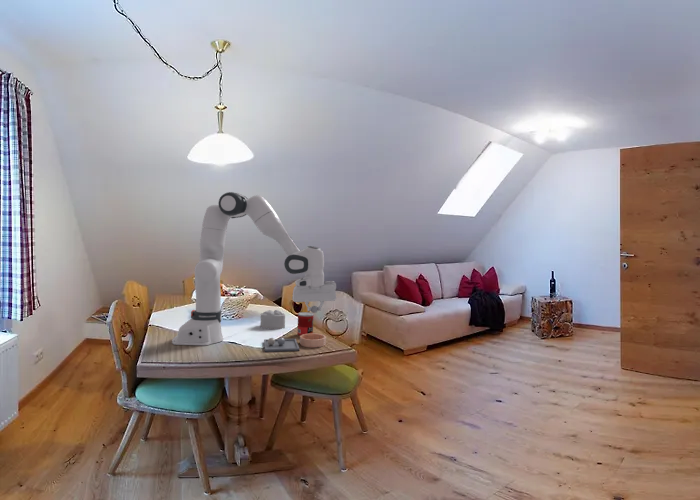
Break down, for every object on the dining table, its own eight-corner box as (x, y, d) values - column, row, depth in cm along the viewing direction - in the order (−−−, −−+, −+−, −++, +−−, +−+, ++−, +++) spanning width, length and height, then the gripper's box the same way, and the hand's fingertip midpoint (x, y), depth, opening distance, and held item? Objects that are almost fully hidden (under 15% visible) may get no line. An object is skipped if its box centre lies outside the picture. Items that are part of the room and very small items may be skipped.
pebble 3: (310, 312, 194) (310, 305, 194) (317, 312, 195) (317, 304, 195) (311, 313, 191) (311, 306, 191) (318, 313, 192) (318, 306, 192)
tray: (264, 351, 181) (265, 349, 181) (263, 342, 197) (264, 339, 196) (299, 350, 184) (299, 348, 184) (295, 341, 200) (295, 338, 200)
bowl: (301, 347, 189) (301, 340, 189) (298, 340, 201) (298, 333, 201) (327, 347, 192) (327, 339, 192) (323, 340, 204) (323, 333, 203)
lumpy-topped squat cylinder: (267, 323, 234) (268, 308, 234) (288, 326, 231) (288, 310, 230) (258, 327, 225) (258, 311, 224) (279, 330, 221) (280, 314, 220)
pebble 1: (267, 346, 187) (267, 339, 187) (267, 344, 191) (267, 337, 191) (275, 346, 188) (275, 338, 188) (274, 344, 191) (274, 336, 191)
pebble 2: (277, 346, 188) (277, 338, 188) (277, 344, 192) (277, 336, 192) (285, 345, 189) (285, 338, 189) (284, 343, 193) (284, 336, 192)
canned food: (310, 337, 208) (311, 315, 207) (295, 336, 210) (295, 314, 209) (314, 333, 216) (315, 312, 215) (300, 332, 217) (300, 311, 217)
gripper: (334, 280, 198) (334, 308, 199) (292, 280, 193) (291, 310, 194) (337, 281, 192) (337, 311, 193) (293, 282, 187) (293, 313, 188)
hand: (314, 310), depth 193 cm, fingers closed on pebble 3, 3 cm apart
